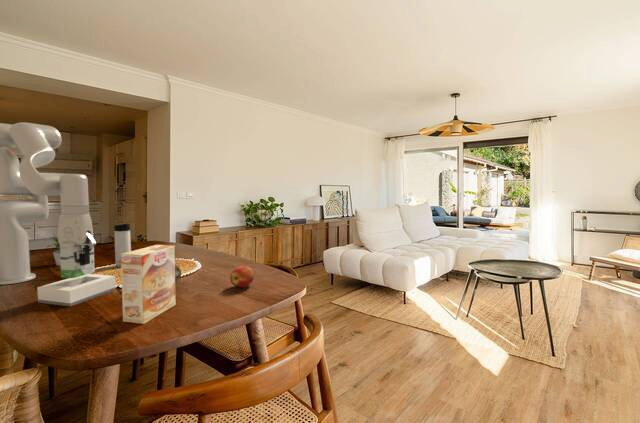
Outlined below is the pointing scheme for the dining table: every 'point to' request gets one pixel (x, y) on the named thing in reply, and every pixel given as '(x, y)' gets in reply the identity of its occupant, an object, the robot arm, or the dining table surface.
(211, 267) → the dining table surface
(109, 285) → the holder block
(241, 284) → the apple
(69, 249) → the ink box
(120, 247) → the travel mug
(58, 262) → the house plant
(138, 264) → the coffeecake box
